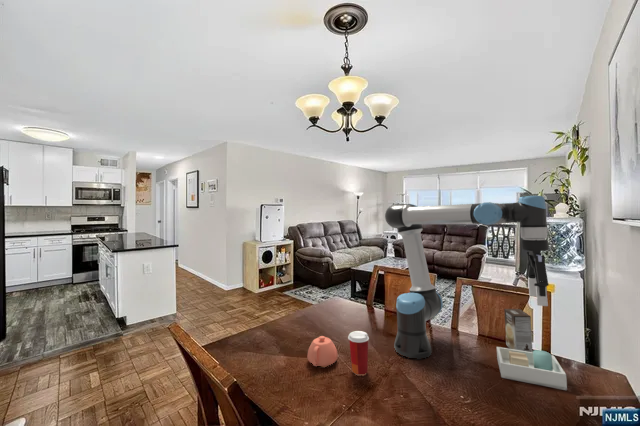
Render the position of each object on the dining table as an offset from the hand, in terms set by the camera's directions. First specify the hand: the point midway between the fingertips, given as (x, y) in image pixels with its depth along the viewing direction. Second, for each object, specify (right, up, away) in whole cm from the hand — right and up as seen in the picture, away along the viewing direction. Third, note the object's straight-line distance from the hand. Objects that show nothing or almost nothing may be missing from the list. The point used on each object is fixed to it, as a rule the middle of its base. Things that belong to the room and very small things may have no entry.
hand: (538, 300), depth 96 cm
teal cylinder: (+1, -25, -1) cm, 25 cm away
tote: (-3, -26, +1) cm, 27 cm away
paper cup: (-62, -29, +6) cm, 69 cm away
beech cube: (-5, -26, +2) cm, 26 cm away
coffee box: (+6, -27, +18) cm, 33 cm away
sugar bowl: (-77, -30, +13) cm, 83 cm away
